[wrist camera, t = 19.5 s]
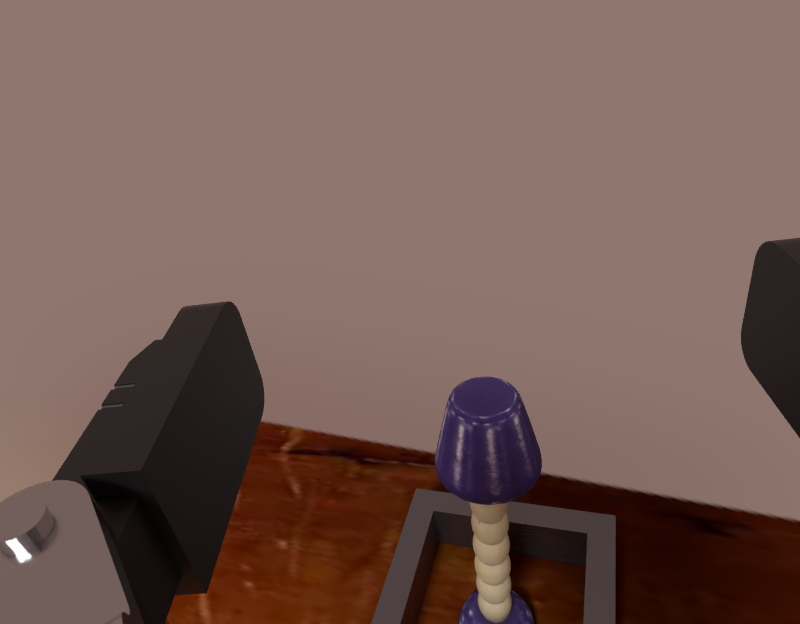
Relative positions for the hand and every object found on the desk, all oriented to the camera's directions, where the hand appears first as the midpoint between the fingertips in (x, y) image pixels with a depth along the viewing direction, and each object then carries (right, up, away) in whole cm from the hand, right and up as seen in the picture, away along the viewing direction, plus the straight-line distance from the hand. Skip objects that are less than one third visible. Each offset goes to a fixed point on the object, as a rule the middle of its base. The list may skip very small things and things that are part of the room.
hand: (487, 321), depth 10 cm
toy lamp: (+4, -17, +24) cm, 30 cm away
